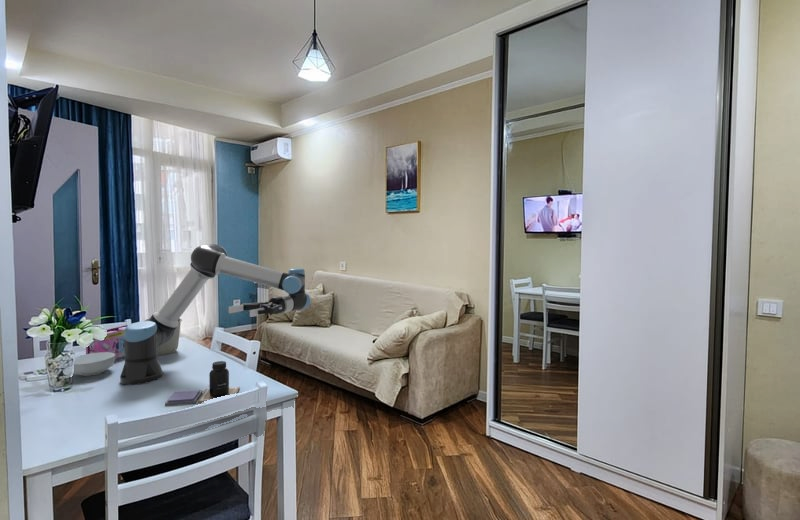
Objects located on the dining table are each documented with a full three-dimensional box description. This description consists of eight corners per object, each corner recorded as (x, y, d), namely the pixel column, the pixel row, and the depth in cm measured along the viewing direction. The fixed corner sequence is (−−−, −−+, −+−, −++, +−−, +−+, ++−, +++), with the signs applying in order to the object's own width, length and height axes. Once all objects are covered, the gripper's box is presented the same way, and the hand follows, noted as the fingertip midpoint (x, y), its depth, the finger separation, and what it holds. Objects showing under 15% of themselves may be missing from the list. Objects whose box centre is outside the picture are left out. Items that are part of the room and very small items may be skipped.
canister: (188, 347, 223) (187, 309, 222) (172, 357, 205) (171, 315, 204) (154, 347, 222) (153, 309, 221) (134, 357, 204) (133, 315, 203)
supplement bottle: (221, 398, 153) (221, 366, 152) (205, 396, 154) (204, 364, 153) (233, 391, 159) (232, 360, 159) (217, 389, 161) (216, 359, 160)
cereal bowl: (86, 367, 189) (85, 352, 189) (123, 366, 190) (123, 351, 190) (57, 380, 172) (56, 363, 172) (99, 379, 173) (98, 363, 173)
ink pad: (164, 405, 147) (164, 401, 147) (174, 395, 157) (173, 391, 157) (195, 403, 149) (195, 399, 149) (202, 393, 159) (202, 389, 159)
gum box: (96, 365, 192) (95, 336, 191) (82, 363, 194) (81, 335, 193) (139, 351, 216) (138, 325, 215) (127, 350, 217) (126, 324, 217)
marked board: (197, 403, 149) (197, 401, 149) (206, 391, 161) (205, 388, 161) (233, 401, 152) (233, 398, 152) (239, 388, 164) (239, 386, 164)
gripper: (300, 316, 179) (259, 324, 161) (262, 310, 192) (221, 317, 175) (300, 298, 178) (259, 305, 161) (262, 294, 192) (220, 299, 174)
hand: (239, 311), depth 168 cm, fingers open, 13 cm apart
